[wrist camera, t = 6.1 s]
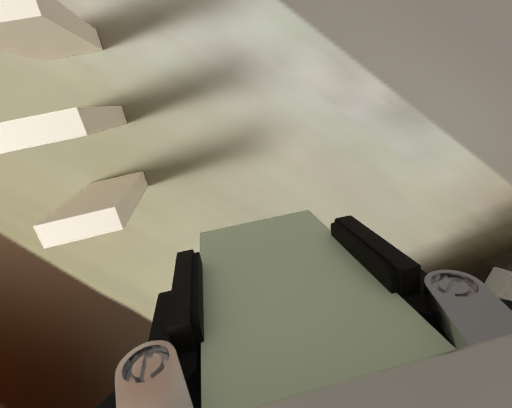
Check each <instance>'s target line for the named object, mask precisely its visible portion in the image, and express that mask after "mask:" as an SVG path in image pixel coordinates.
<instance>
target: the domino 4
mask: <svg viewBox="0 0 512 408" xmlns="http://www.w3.org/2000/svg"><path fill="white" fill-rule="evenodd" d="M200 256H201V260H202V265H203V310H204V342H201V408H251V407H255V406H258V405H261V404H265V403H268V402H272V401H275V400H279V399H282V398H285V397H289V396H292V395H296V394H299V393H303V392H306V391H309V390H313V389H316V388H320V387H323V386H327V385H330V384H334V383H337V382H341V381H344V380H348V379H351V378H355V377H358V376H362V375H366V374H369V373H373V372H376V371H380V370H383V369H387V368H390V367H394V366H397V365H401V364H404V363H408V362H411V361H415V360H418V359H422V358H426V357H429V356H433V355H436V354H440V353H444V352H447V351H451V350H454V349H456V348H455V347H454V346H453V345H452V344H450V343H449V342H448V341H447V340H446V339H445V338H444V337H443V336H442V335H441V334H440V333H439V332H438V331H437V330H436V329H435V328H433V327H432V326H431V325H430V324H429V323H428V322H427V321H426V320H425V319H424V318H423V317H422V316H421V315H420V314H419V313H418V312H416V311H415V310H414V309H413V308H412V307H411V306H410V305H409V304H408V303H407V302H406V301H405V300H404V299H403V298H402V297H400V296H399V295H398V294H397V293H393V294H391V293H390V292H389V291H388V290H387V289H386V288H385V287H384V286H383V285H382V284H381V283H380V282H379V281H378V280H377V279H376V278H375V277H374V276H373V275H372V274H371V273H370V272H369V271H367V270H366V269H365V268H364V267H363V266H362V265H361V264H360V263H359V262H358V261H357V260H356V259H355V258H354V257H353V256H352V255H351V254H350V253H349V252H348V251H347V250H346V249H345V248H344V247H343V246H342V245H341V244H340V243H339V242H338V241H337V240H336V239H335V238H333V237H332V236H331V231H330V230H329V229H328V228H327V227H326V226H325V225H324V224H323V223H322V222H321V221H320V220H319V219H318V218H316V217H315V216H314V215H313V214H312V213H311V212H310V211H309V210H305V211H301V212H296V213H291V214H287V215H282V216H277V217H272V218H268V219H263V220H258V221H254V222H249V223H244V224H240V225H235V226H230V227H225V228H221V229H216V230H211V231H207V232H202V233H200Z"/></svg>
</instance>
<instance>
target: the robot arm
mask: <svg viewBox="0 0 512 408" xmlns="http://www.w3.org/2000/svg"><path fill="white" fill-rule="evenodd" d="M331 236H332V237H333V238H335V239H336V240H337V241H338V242H339V243H340V244H341V245H342V246H343V247H344V248H345V249H346V250H347V251H348V252H349V253H350V254H351V255H352V256H353V257H354V258H355V259H356V260H357V261H358V262H359V263H360V264H361V265H362V266H363V267H364V268H365V269H366V270H367V271H369V272H370V273H371V274H372V275H373V276H374V277H375V278H376V279H377V280H378V281H379V282H380V283H381V284H382V285H383V286H384V287H385V288H386V289H387V290H388V291H389V292H390V293H391V294H393V293H397V294H398V295H399V296H400V297H402V298H403V299H404V300H405V301H406V302H407V303H408V304H409V305H410V306H411V307H412V308H413V309H414V310H415V311H416V312H418V313H419V314H420V315H421V316H422V317H423V318H424V319H425V320H426V321H427V322H428V323H429V324H430V325H431V326H432V327H433V328H435V329H436V330H437V331H438V332H439V333H440V334H441V335H442V336H443V337H444V338H445V339H446V340H447V341H448V342H449V343H450V344H452V345H453V346H454V347H455V348H456V349H454V350H451V351H447V352H444V353H440V354H436V355H433V356H429V357H426V358H422V359H418V360H415V361H411V362H408V363H404V364H401V365H397V366H394V367H390V368H387V369H383V370H380V371H376V372H373V373H369V374H366V375H362V376H358V377H355V378H351V379H348V380H344V381H341V382H337V383H334V384H330V385H327V386H323V387H320V388H316V389H313V390H309V391H306V392H303V393H299V394H296V395H292V396H289V397H285V398H282V399H279V400H275V401H272V402H268V403H265V404H261V405H258V406H255V407H251V408H512V301H511V300H506V299H501V298H498V297H497V296H496V295H495V294H494V293H493V292H492V291H491V290H490V289H489V288H488V287H487V286H486V285H485V284H484V283H483V282H481V281H480V280H479V279H477V278H476V277H474V276H472V275H470V274H467V273H464V272H460V271H455V270H437V271H433V272H430V273H428V274H427V273H425V272H424V271H423V270H421V265H419V264H418V263H416V262H415V261H414V260H412V259H411V258H409V257H408V256H407V255H405V254H404V253H402V252H401V251H400V250H398V249H397V248H395V247H394V246H393V245H391V244H390V243H388V242H387V241H386V240H384V239H383V238H382V237H380V236H379V235H377V234H376V233H375V232H373V231H372V230H370V229H369V228H368V227H366V226H365V225H363V224H362V223H361V222H359V221H358V220H356V219H355V218H354V217H352V216H345V217H340V218H336V219H335V222H334V223H331ZM201 342H204V310H203V265H202V260H201V256H200V253H199V252H197V253H194V251H193V249H192V250H188V251H183V252H178V253H177V257H176V264H175V271H174V277H173V284H172V290H171V291H167V292H163V293H160V294H159V295H158V299H157V304H156V308H155V313H154V317H153V322H152V327H151V331H150V336H149V341H148V342H147V343H144V344H142V345H140V346H138V347H136V348H134V349H133V350H132V351H130V352H129V353H128V354H127V355H126V356H125V357H124V358H123V359H122V360H121V361H120V363H119V365H118V367H117V369H116V373H115V391H114V392H113V393H112V394H111V395H109V396H108V397H107V398H106V399H105V400H104V401H103V402H102V403H100V404H99V405H98V406H97V407H96V408H201Z"/></svg>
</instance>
